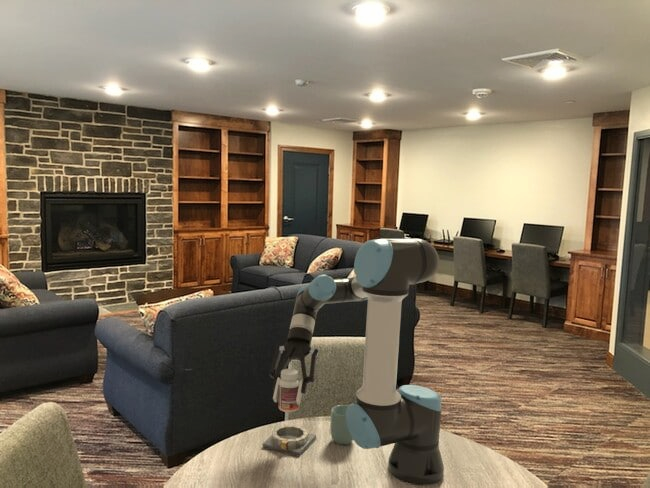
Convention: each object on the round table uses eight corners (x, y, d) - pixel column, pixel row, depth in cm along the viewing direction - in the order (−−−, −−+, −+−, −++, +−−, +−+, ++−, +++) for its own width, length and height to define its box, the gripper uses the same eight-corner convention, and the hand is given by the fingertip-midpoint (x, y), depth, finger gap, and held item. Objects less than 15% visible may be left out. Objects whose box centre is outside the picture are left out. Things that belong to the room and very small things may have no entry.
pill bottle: (302, 410, 159) (304, 373, 158) (284, 414, 156) (286, 376, 155) (292, 402, 164) (293, 366, 163) (274, 406, 161) (275, 370, 160)
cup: (360, 440, 166) (361, 409, 165) (347, 450, 160) (348, 417, 158) (338, 433, 170) (339, 402, 169) (325, 442, 164) (326, 411, 163)
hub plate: (316, 438, 166) (316, 428, 166) (299, 457, 155) (299, 446, 154) (280, 430, 170) (281, 421, 170) (261, 448, 159) (262, 437, 159)
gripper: (332, 340, 172) (320, 410, 158) (273, 335, 175) (257, 403, 161) (329, 328, 166) (317, 400, 152) (269, 323, 170) (251, 392, 155)
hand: (286, 401), depth 157 cm, fingers closed on pill bottle, 6 cm apart
